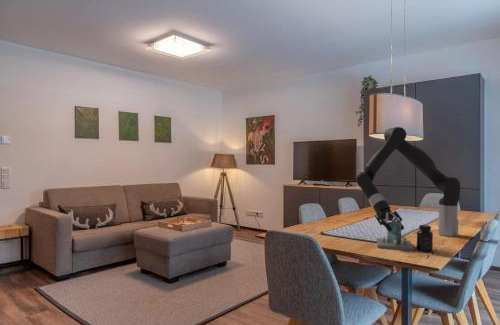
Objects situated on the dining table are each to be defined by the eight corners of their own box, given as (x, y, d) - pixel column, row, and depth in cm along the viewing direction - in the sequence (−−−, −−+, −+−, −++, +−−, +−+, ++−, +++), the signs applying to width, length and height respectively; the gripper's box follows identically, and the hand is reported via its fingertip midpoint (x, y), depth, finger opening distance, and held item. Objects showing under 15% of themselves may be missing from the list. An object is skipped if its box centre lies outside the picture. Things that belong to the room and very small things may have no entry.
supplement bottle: (413, 248, 167) (414, 224, 166) (427, 248, 167) (427, 224, 167) (421, 252, 160) (422, 227, 160) (435, 252, 160) (436, 227, 160)
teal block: (393, 241, 175) (393, 221, 175) (401, 243, 171) (401, 223, 171) (387, 242, 173) (387, 222, 172) (394, 244, 169) (395, 224, 168)
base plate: (409, 243, 176) (410, 235, 176) (413, 251, 163) (413, 242, 162) (376, 240, 181) (376, 233, 181) (377, 247, 168) (377, 239, 167)
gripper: (373, 200, 175) (391, 227, 165) (392, 198, 181) (411, 224, 171) (365, 209, 179) (382, 235, 170) (384, 207, 186) (402, 232, 176)
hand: (396, 230), depth 170 cm, fingers open, 8 cm apart
